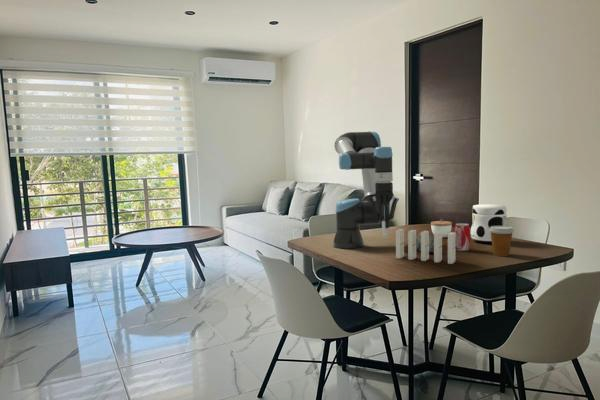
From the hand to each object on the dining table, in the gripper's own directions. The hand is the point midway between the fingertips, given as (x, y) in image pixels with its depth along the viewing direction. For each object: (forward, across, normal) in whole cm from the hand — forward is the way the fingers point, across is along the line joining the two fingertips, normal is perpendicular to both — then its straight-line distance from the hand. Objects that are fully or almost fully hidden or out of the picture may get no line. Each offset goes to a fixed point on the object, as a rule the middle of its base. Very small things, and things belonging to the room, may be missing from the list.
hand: (384, 235), depth 194 cm
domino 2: (+9, +12, 0) cm, 15 cm away
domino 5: (+9, +29, 0) cm, 30 cm away
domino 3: (+9, +18, 0) cm, 20 cm away
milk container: (+9, +34, +51) cm, 62 cm away
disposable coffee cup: (+10, +44, +23) cm, 50 cm away
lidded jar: (+9, +9, +56) cm, 58 cm away
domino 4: (+9, +23, 0) cm, 25 cm away
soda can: (+9, +27, +26) cm, 39 cm away
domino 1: (+9, +7, 0) cm, 12 cm away
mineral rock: (+10, +14, +15) cm, 22 cm away
